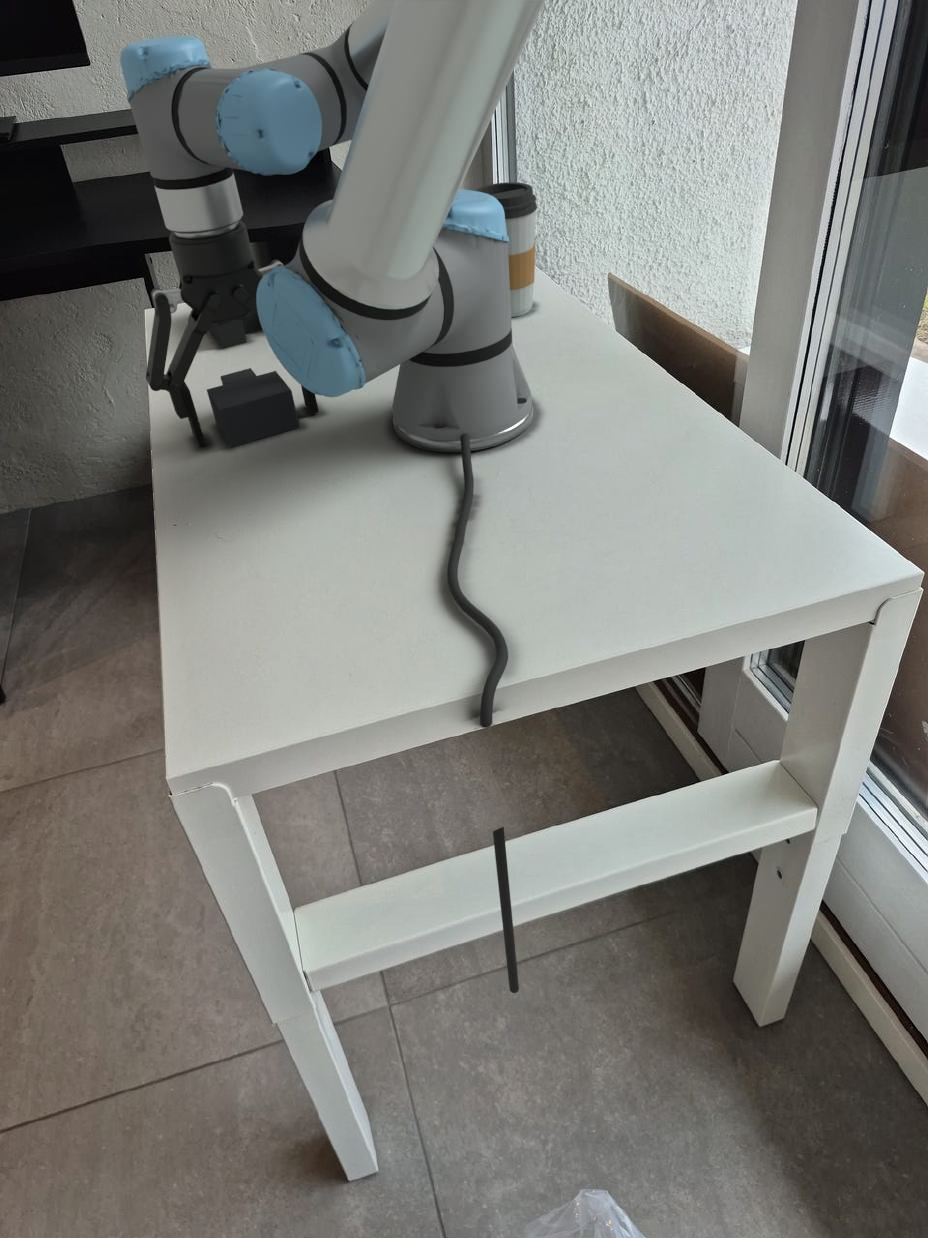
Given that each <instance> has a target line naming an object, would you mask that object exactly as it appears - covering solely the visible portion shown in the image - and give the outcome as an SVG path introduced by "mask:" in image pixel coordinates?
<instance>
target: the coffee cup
mask: <svg viewBox="0 0 928 1238" xmlns="http://www.w3.org/2000/svg"><path fill="white" fill-rule="evenodd" d="M475 191H477V192H482V193H486V194H489V195H491V196H493V197H495V198H496V199H497V200H498V201H499V202H500V204H501V205H502V207H503V209H504V214H505V223H506V232H507V236H508V237H509V243H508V260H509V281H510V303H511V318H515V317H520V316H523V315H525V314H528V313H529V312H530V311H531V309H532V306H533V304H534V284H535V271H536V270H535V269H536V267H535V266H536V265H535V264H536V212H537V210H538V205H537V197H536V195H535V194H534V191H533V186H531V184H527V183H524V182H515V181H513V182H512V181H510V182H497V183H491V184H488V185H483V186H481V187H479V188H477V189H475Z"/></svg>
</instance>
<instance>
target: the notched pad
mask: <svg viewBox="0 0 928 1238" xmlns="http://www.w3.org/2000/svg"><path fill="white" fill-rule="evenodd" d="M246 317H247V319H243V320H231V321H229V322H228V323H226V324H223V325H219V326H218V325H217V324H212V323H211V324H210V327H209V329H208V332H209V333H210V335H211V336H212V337H213V339H214V340H215V341H216V342H217V345H219V347H220V348H221V349H225V348H230V347H235V346H237V345H241V344H245V343H247V342H248V340H247V334H250V333H254V332H258V331H263V329H262V327H261V323H260V320H259V317H258V316H257V315H256V314H255V313H253V312H251V313H250V314H249V315H248V316H246Z"/></svg>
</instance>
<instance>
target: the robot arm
mask: <svg viewBox="0 0 928 1238" xmlns="http://www.w3.org/2000/svg"><path fill="white" fill-rule="evenodd" d="M545 2H546V0H370V1H369V3H367V5H366V6H365V7H364V8H363V9H362V10H361V12H360V13H359V14H358V15H357V16H356V18H355V19H354V20H353V21H352V22H351V24H350V25H349V26H348V27H347V28H346V29H345V30H344V31H343V33H341V35H339V37H338V38H337V39H336V40H335V41H333V43H331V44H329V45H328V46H325V47H321V48H317V49H314V50H309V51H306V52H302V53H299V54H295V55H292V56H288V57H283V58H279V59H274V60H269V61H266V62H261V63H259V64H254V65H250V66H246V67H241V68H240V67H239V68H213V67H212V65H211V61H210V60H209V57H208V54H207V52H206V49H205V45H204V43H203V41H201V40H200V39H199V38H198V37H196V36H194V35H184V34H183V35H182V34H181V35H169V36H161V37H154V38H148V39H143V40H138V41H135V42H132V43H129V44H127V45H126V46H124V47H123V49H122V50H121V51H120V54H119V64H120V66H121V67H120V68H121V70H122V71H121V72H122V76H123V79H124V83H125V87H126V91H127V94H126V100H127V103H128V105H129V107H130V110H131V114H132V116H133V121H134V123H135V126H136V130H137V133H138V136H139V139H140V143H141V146H142V150H143V153H144V157H145V160H146V163H147V167H148V170H149V174H150V176H151V179H152V181H153V186H154V190H155V193H156V197H157V201H158V204H159V208H160V211H161V216H162V218H163V222H164V226H165V228H166V230H168V231H170V235H169V236H168V241H169V245H170V247H171V253H172V255H173V258H174V263H175V266H176V270H177V272H178V276H179V285H178V288H172V289H171V288H170V289H164V290H162V288H160V287H154V288H153V289H151V291H150V295H151V300H152V303H153V309H154V315H153V323H152V329H151V336H150V342H149V343H150V345H149V352H148V357H147V358H148V359H147V364H146V373H145V379H146V382H147V384H148V386H149V388H150V390H151V391H153V392H159V391H166V392H168V393H169V396H170V400H171V403H172V406H173V408H174V412H175V413H176V415H177V417H178V418H179V419H180V420H182V419H186V418H187V419H188V422H189V425H190V429H191V432H192V436H193V438H194V440H195V442H196V444H197V445H198V447H199V448H200V447H201V448H202V447H205V446H207V443H206V440H205V436H204V434H203V431H202V427H201V425H200V420H199V416H198V414H197V411H196V410H197V409H196V407H195V404H194V401H193V397H192V393H191V390H190V388H189V386H188V384H187V383H186V382H185V380H186V378H187V375H188V373H189V371H190V369H191V367H192V364H193V361H194V360H195V357H196V355H197V353H198V350H199V348H200V346H201V343H202V341H203V339H204V336H206V334H207V333H208V332H209V330H208V329H209V327H210V324H211V323H212V324H217V325H218V326H219V325H223V324H226V323H228V322H229V321H231V320H243V319H247V317H246V316H248V315H249V314H250V313H251V312H253V313H255V314H256V315H257V316H258V317H259V320H260V323H261V327H262V329H263V330H262V332H263V334H264V335H265V338H266V340H267V343H268V345H269V347H270V349H271V350H272V352H273V354H274V356H275V357H276V359H277V360H278V362H279V363H280V365H281V366H282V367H283V369H284V370H285V371H286V372H287V373H288V374H289V375H290V376H291V377H292V378H293V379H294V380H295V381H296V383H298V384H299V385H300V387H301V392H302V397H303V401H304V405H305V407H306V408H307V410H308V411H309V412H310V413H311V415H315V414H319V413H320V412H319V407H318V406H319V405H318V402H317V397H316V395H318V396H323V397H325V398H337V397H340V396H343V395H345V394H347V393H349V392H352V391H353V390H360V389H363V388H364V386H365V385H366V384H368V383H369V382H370V381H373V380H375V379H376V378H378V377H380V376H382V375H384V374H386V373H387V372H389V371H391V370H393V369H394V368H397V367H398V366H399V370H398V374H397V379H396V385H395V390H394V395H393V401H392V412H391V413H392V422H393V428H394V432H395V434H396V435H397V436H398V437H399V438H400V439H401V440H402V441H404V442H405V443H407V444H409V445H411V446H413V447H416V448H419V449H422V450H426V451H431V452H439V453H440V452H441V453H461V462H462V472H463V481H464V482H463V483H464V488H463V497H462V503H461V508H460V511H459V514H458V519H457V523H456V527H455V533H454V538H453V543H452V547H451V550H450V554H449V557H448V561H447V562H448V563H447V568H446V569H447V570H446V579H447V586H448V589H449V592H450V594H451V596H452V599H453V600H454V602H455V603H456V605H457V606H458V607H459V608H460V609H461V610H462V612H463V613H465V614H466V615H467V616H468V617H469V618H471V619H472V620H473V621H474V622H475V623H476V624H478V625H479V626H480V627H481V628H482V629H483V630H484V631H485V632H486V633H487V634H488V635H489V637H490V638H491V640H492V642H493V645H494V647H495V653H496V654H495V655H496V656H495V657H496V658H495V661H494V664H493V666H492V668H491V670H490V672H489V674H488V676H487V678H486V681H485V683H484V686H483V690H482V692H481V693H482V694H481V698H480V710H479V711H480V712H479V723H480V726H481V727H482V728H485V729H488V728H490V727H492V725H493V712H494V711H493V708H494V698H495V694H496V690H497V687H498V685H499V682H500V681H501V678H502V676H503V674H504V673H505V670H506V668H507V665H508V662H509V661H508V660H509V649H508V648H509V647H508V645H507V642H506V639H505V637H504V635H503V633H502V632H501V630H500V628H499V627H498V625H496V623H494V622H493V620H491V619H490V618H489V617H488V616H487V615H486V614H485V613H483V612H482V611H481V610H480V609H478V607H476V606H475V605H474V604H473V603H471V601H470V600H469V599H468V598H467V597H466V596H465V595H464V593H463V592H462V589H461V587H460V583H459V576H458V575H459V574H458V573H459V572H458V570H459V563H460V558H461V554H462V551H463V546H464V542H465V536H466V530H467V524H468V520H469V516H470V512H471V509H472V504H473V498H474V487H475V485H474V484H475V483H474V473H473V465H472V464H473V463H472V454H471V452H473V451H474V452H475V451H479V450H480V451H481V450H484V449H488V448H492V447H495V446H499V445H501V444H504V443H506V442H508V441H511V440H512V439H514V438H516V437H517V436H519V435H521V434H522V433H523V432H524V431H525V430H526V429H528V427H529V426H530V424H531V423H532V421H533V418H534V401H533V396H532V392H531V388H530V386H529V383H528V381H527V379H526V375H525V373H524V370H523V369H522V366H521V363H520V360H519V358H518V355H517V353H516V351H515V348H514V343H513V327H512V317H511V303H510V281H509V260H508V243H509V237H508V236H507V232H506V223H505V214H504V209H503V207H502V205H501V204H500V202H499V201H498V200H497V199H496V198H495V197H493V196H491V195H489V194H486V193H482V192H477V191H476V190H471V189H470V190H469V189H461V187H462V184H463V182H464V180H465V178H466V176H467V173H468V171H469V169H470V167H471V164H472V162H473V160H474V158H475V155H476V154H477V151H478V149H479V147H480V146H481V143H482V140H483V138H484V136H485V134H486V132H487V129H488V127H489V125H490V122H491V121H492V118H493V116H494V114H495V112H496V110H497V107H498V105H499V103H500V100H501V98H502V97H503V94H504V92H505V90H506V87H507V85H508V83H509V81H510V79H511V77H512V74H513V72H514V70H515V68H516V65H517V64H518V62H519V59H520V58H521V55H522V52H523V50H524V48H525V45H526V43H527V42H528V39H529V37H530V35H531V32H532V31H533V28H534V27H535V26H534V25H535V24H536V22H537V20H538V17H539V15H540V12H541V11H542V9H543V6H544V4H545ZM346 142H350V144H349V148H348V150H347V154H346V157H345V161H344V163H343V166H342V170H341V173H340V176H339V180H338V182H337V186H336V189H335V192H334V196H333V199H329V200H327V201H324V202H323V203H321V204H319V205H317V207H315V208H314V209H313V210H312V211H311V213H310V214H309V215H308V217H307V219H306V221H305V223H304V225H303V226H304V227H303V229H302V233H301V236H300V239H299V242H298V246H297V250H296V253H295V255H294V257H293V258H292V260H290V262H288V263H286V264H283V263H282V262H281V261H280V260H279V259H274V260H272V261H271V262H270V264H269V265H267V266H264V267H261V268H258V267H257V266H256V264H255V259H254V255H253V251H252V247H251V243H250V237H249V233H248V229H247V225H246V224H245V223H244V222H243V221H242V220H241V219H242V217H243V216H244V212H243V207H242V202H241V199H240V194H239V190H238V187H237V182H236V177H235V173H234V169H235V170H240V171H245V172H246V171H247V172H251V173H252V174H255V175H259V174H260V175H261V176H274V175H293V174H296V173H298V172H300V171H302V170H305V169H306V167H307V166H308V164H309V163H310V162H311V160H312V159H313V158H314V157H315V155H316V154H317V152H320V151H323V150H325V149H328V148H331V147H333V146H336V145H339V144H343V143H346ZM180 302H183V303H185V304H186V305H187V306H188V307H189V308H191V310H190V313H189V316H188V318H187V324H186V326H185V329H184V331H183V333H182V335H181V338H180V341H179V343H178V345H177V347H176V350H175V352H174V354H173V356H172V359H171V361H170V364H169V366H168V369H167V371H166V373H165V370H166V363H167V357H168V351H169V343H170V336H171V329H172V314H174V313H176V311H177V309H178V305H179V303H180ZM492 839H493V847H494V857H495V866H496V876H497V877H496V878H497V883H498V886H497V887H498V894H499V895H498V896H499V904H500V913H501V921H502V922H501V923H502V931H503V940H504V941H503V942H504V950H505V958H506V959H505V960H506V967H507V977H508V978H507V979H508V987H509V992H511V993H512V994H516V993H518V992H519V991H520V985H519V975H518V974H519V973H518V964H517V963H518V962H517V954H516V941H515V933H514V932H515V931H514V922H513V921H514V920H513V911H512V900H511V889H510V878H509V870H508V867H509V866H508V859H507V858H508V857H507V847H506V846H507V845H506V835H505V826H501V827H499V828H497V829H495V830H493V831H492Z"/></svg>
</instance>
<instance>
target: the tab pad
mask: <svg viewBox="0 0 928 1238" xmlns="http://www.w3.org/2000/svg"><path fill="white" fill-rule="evenodd" d="M220 380H221V383H222V385H218V386H215V387H211V388H207V389H206V393H207V396H208V399H209V403H210V406H211V410H212V413H213V417H214V421H215V424H216V427H217V428H218V430H219V432H220V433H221V435H222V437H223V438H224V440H225V442H226V443H227V446H229V448H234V447H238V446H240V445H244V444H248V443H251V442H254V441H257V440H261V439H265V438H267V437H271V436H275V435H277V434H281V433H285V432H288V431H291V430H295V429H298V428H300V422H299V418H298V413H297V410H296V405H295V400H294V396H293V392H292V389H291V387H290V386H288V384H287V383H286V382H285V380H284V379H283V378H282V377H281V376H280V374H279V373H278V372H277V370H273V371H270V372H266V373H262V374H259V375H257V374H256V373H255V372H254V370H253V369H252V368H245V369H242V370H237V371H234V372H231V373H227V374H223V375H220Z"/></svg>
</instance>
